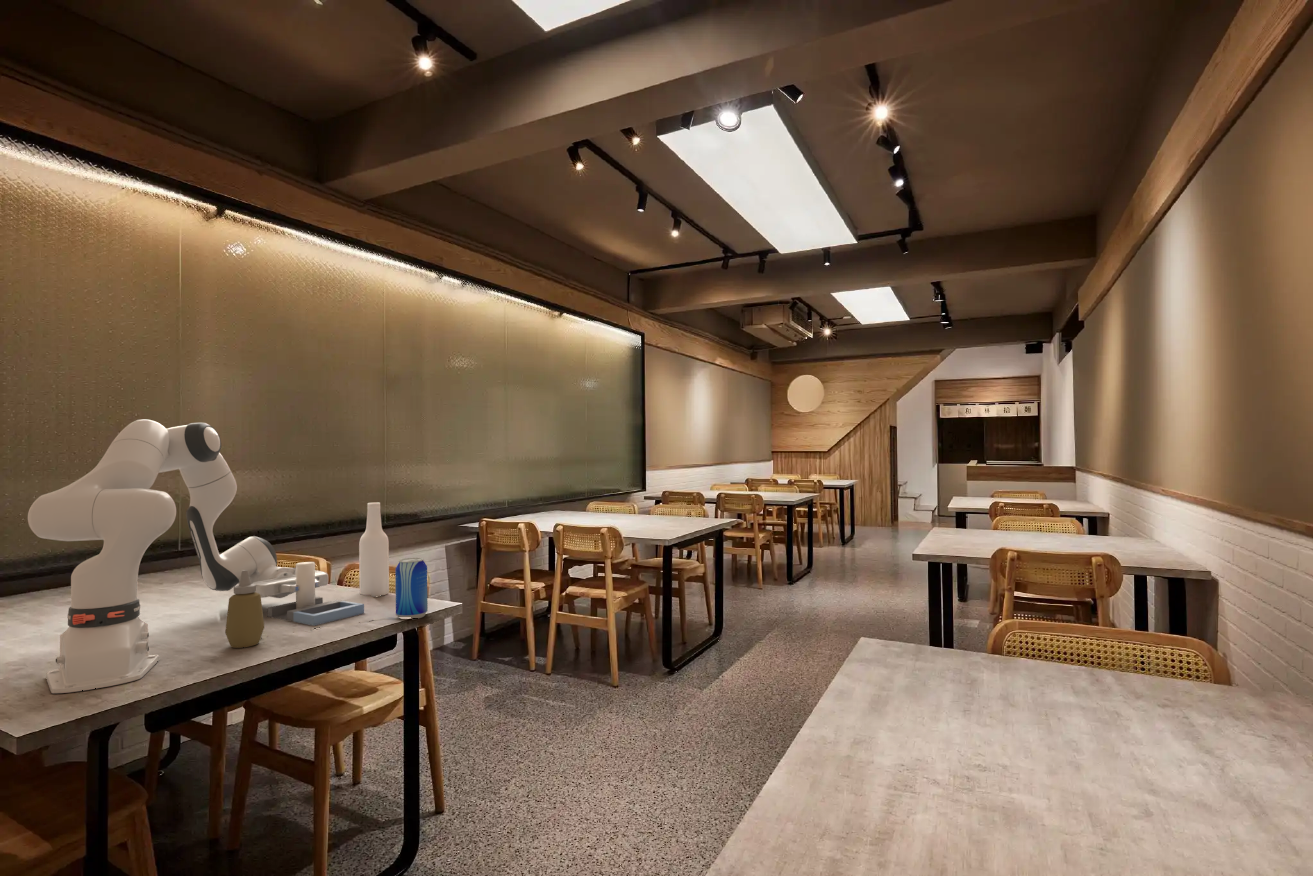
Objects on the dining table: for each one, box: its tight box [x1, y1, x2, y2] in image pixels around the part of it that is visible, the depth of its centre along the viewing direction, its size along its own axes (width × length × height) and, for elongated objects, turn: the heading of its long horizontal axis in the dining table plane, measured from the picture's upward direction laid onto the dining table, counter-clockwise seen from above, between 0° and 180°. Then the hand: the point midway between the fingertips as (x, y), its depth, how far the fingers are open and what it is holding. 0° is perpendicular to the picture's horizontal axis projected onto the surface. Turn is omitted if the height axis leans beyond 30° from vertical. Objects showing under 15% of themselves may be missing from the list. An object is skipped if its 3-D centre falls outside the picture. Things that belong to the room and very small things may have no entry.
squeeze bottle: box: [224, 570, 265, 649], centre depth 160 cm, size 8×8×18 cm
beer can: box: [394, 557, 429, 619], centre depth 185 cm, size 8×8×16 cm
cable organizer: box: [266, 596, 366, 630], centre depth 185 cm, size 22×15×4 cm
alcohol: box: [358, 501, 390, 598], centre depth 214 cm, size 9×9×30 cm
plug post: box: [295, 561, 316, 609], centre depth 187 cm, size 5×5×14 cm
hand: (307, 586), depth 187 cm, fingers open, 5 cm apart
